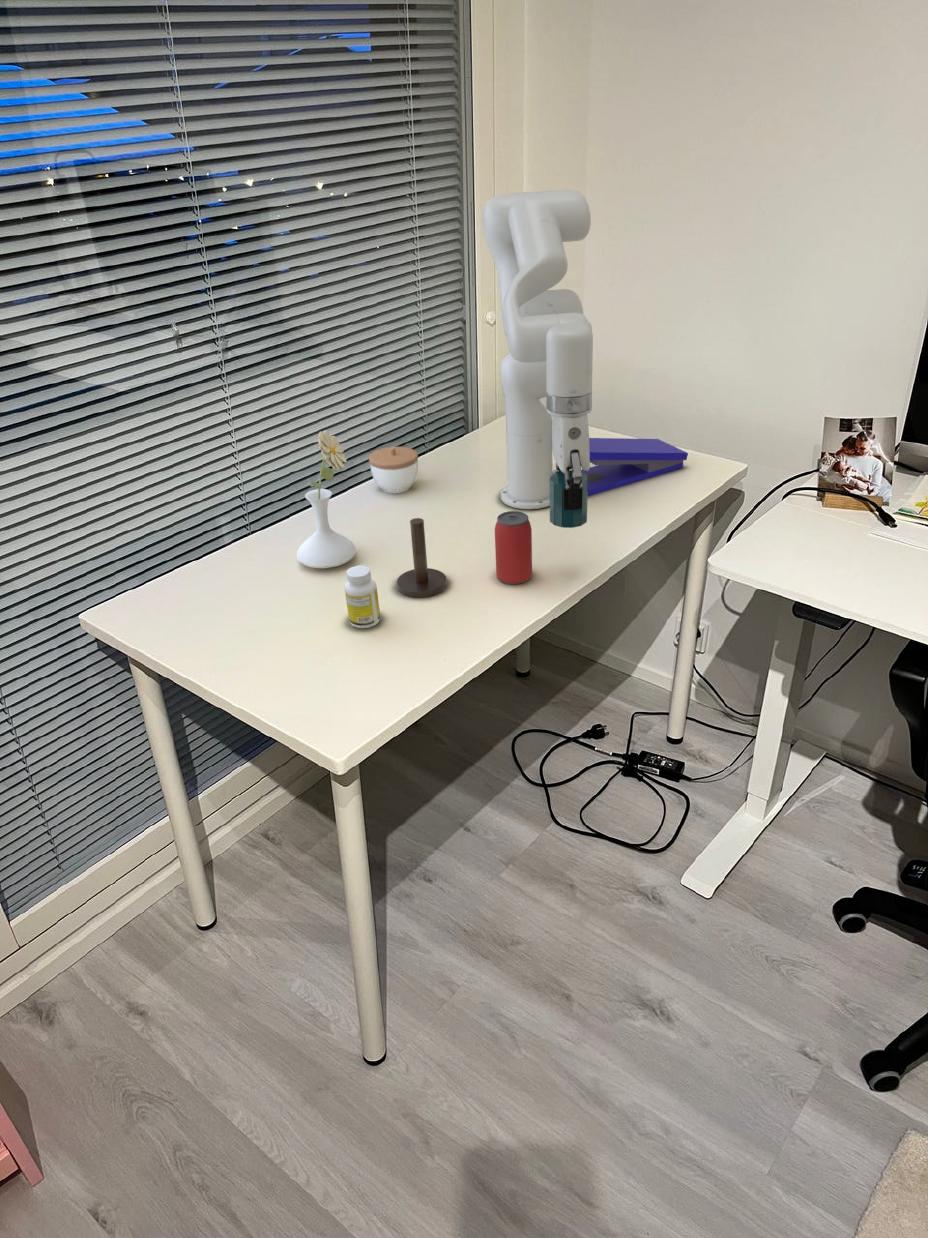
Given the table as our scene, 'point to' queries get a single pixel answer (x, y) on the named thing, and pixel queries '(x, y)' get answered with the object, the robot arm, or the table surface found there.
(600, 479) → the stapler
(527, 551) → the beer can
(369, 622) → the supplement bottle
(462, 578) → the table surface
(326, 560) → the flower in vase
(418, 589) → the holder
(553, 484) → the teal wooden cylinder
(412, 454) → the trinket box
